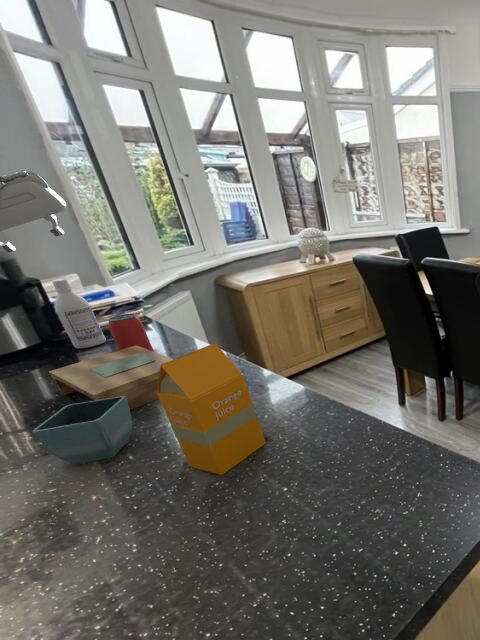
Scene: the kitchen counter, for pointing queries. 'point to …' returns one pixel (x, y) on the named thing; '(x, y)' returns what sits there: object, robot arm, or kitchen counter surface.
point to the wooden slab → (114, 376)
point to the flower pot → (87, 430)
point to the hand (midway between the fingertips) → (36, 242)
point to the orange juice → (209, 409)
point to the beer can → (129, 332)
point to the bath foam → (77, 317)
